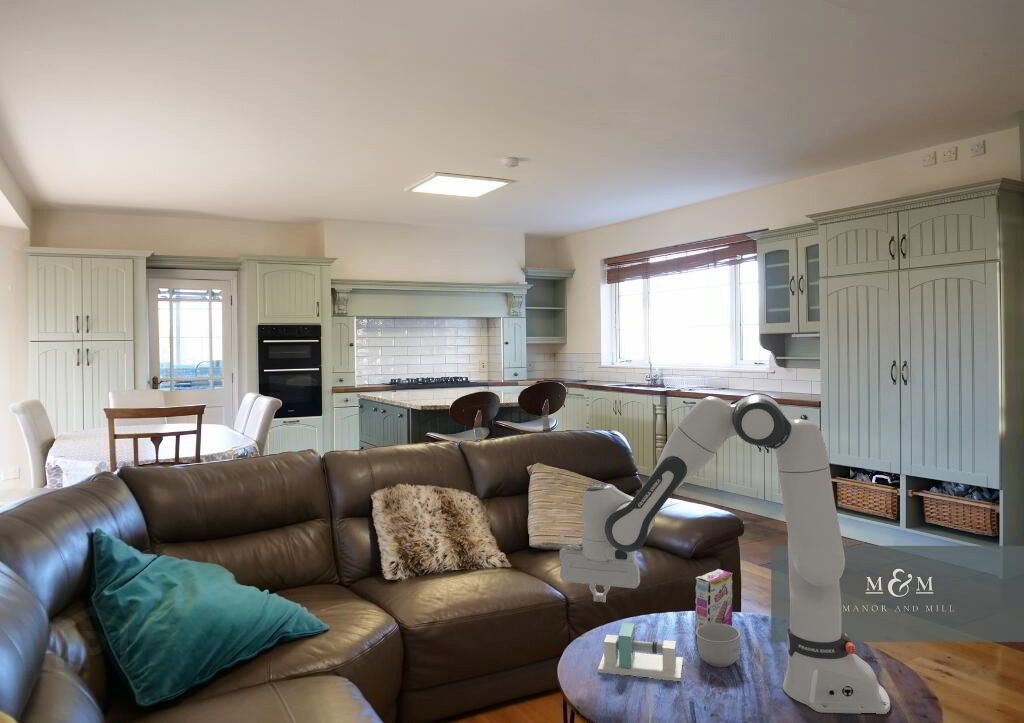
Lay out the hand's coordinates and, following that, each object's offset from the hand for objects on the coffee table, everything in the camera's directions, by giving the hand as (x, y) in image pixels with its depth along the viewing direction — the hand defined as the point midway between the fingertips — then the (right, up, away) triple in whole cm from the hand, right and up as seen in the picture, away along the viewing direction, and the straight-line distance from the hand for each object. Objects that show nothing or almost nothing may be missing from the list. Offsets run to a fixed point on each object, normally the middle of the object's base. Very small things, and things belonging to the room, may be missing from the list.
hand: (599, 600), depth 185 cm
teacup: (+30, -16, +1) cm, 34 cm away
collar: (+7, -15, -1) cm, 16 cm away
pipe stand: (+10, -16, -2) cm, 19 cm away
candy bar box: (+34, -15, +17) cm, 41 cm away
